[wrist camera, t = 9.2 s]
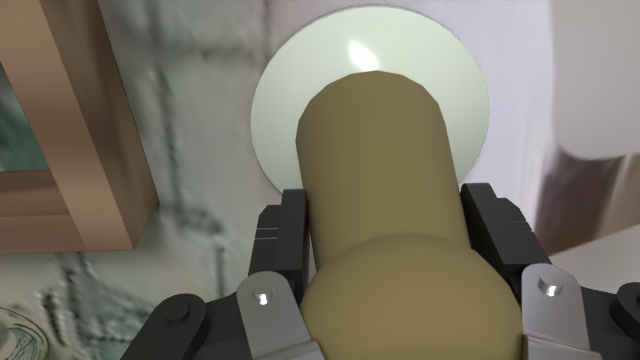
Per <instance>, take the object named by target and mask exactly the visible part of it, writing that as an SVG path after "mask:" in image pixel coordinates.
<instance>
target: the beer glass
mask: <svg viewBox="0 0 640 360" xmlns="http://www.w3.org/2000/svg"><path fill="white" fill-rule="evenodd" d="M47 352H48V342H47V339H46V337H45V336H44V334H43V333H42V331H41V330H40V329H39V328H38V327H37V326H36V325H34V324H33V323H32V322H30V321H29V320H27V319H26V318H24V317H22V316H20V315H18V314H16V313H13V312H11V311H8V310H5V309H1V308H0V360H44V358H45V357H46V355H47Z"/></svg>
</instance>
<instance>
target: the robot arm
mask: <svg viewBox="0 0 640 360" xmlns="http://www.w3.org/2000/svg"><path fill="white" fill-rule="evenodd" d="M460 197H461V202H462V206H463V211H464V216H465V221H466V226H467V230H468V235H469V240H470V245H471V249H472V250H475V251H476V252H477V253H478V254H479V255H480V256H481V257H482V258H483V259H484V260H486V261H487V262H488V263H489V264H490V265H491V266H492V267H493V268H494V269H495V270H496V271H497V273H498V274H499V275H500V276H501V277H502V278H503V279H504V280H505V282H506V283H507V284H508V285H509V286H510V288H511V290H512V293H513V295H514V297H515V299H516V301H517V303H518V305H519V307H520V310H521V313H522V322H523V329H524V334H523V339H522V348H521V358H520V360H640V283H639V282H632V283H626V284H624V285H622V286H621V287H620V288H619V290H618V292H617V294H612V293H608V292H603V291H598V290H593V289H589V288H585V287H582V286H580V285H579V283H578V281H577V280H576V278H575V277H574V276H573V275H571V274H570V273H569V272H567V271H566V270H564V269H562V268H559V267H557V266H554V265H552V263H551V261H550V259H549V258H548V256H547V254H546V253H545V251H544V249H543V248H542V246H541V244H540V243H539V241H538V239H537V238H536V236H535V234H534V232H532V229H531V227H530V226H529V224H528V222H526V219H525V217H524V216H523V214H522V212H521V211H520V209H519V208H518V207H517V206H516V205H514V204H513V203H512V202H511V201H509V200H508V199H507V198H497V197H496V195H495V193H494V191H493V189H492V187H491V186H490V184H489V183H464V184H463V185H462V187H461V192H460ZM309 248H310V233H309V222H308V216H307V191H306V188H303V189H283V195H282V203H281V205H267V207H266V208H265V209H264V210H263V212H262V213H261V214H260V215H259V219H258V224H257V230H256V235H255V240H254V246H253V251H252V257H251V262H250V268H249V273H248V277H247V278H245V279H244V280H243V281H242V282H241V284H240V285H239V287H238V289H237V291H236V292H234V293H233V294H231V295H229V296H227V297H224V298H221V299H218V300H214V301H211V302H207V303H204V301H203V300H202V299H201V298H200V297H199V296H196V295H194V294H187V293H186V294H177V295H174V296H171V297H169V298H167V299H165V300H164V301H162V302H161V303H160V304H159V305H158V306H157V307H156V308H155V309H154V310H153V312H152V313H151V315H150V316H149V318H148V319H147V321H146V322H145V324H144V325H143V326H142V328H141V329H140V331H139V332H138V334H137V335H136V337H135V338H134V340H133V341H132V343H131V344H130V346H129V347H128V348H127V350H126V351H125V353H124V354H123V356H122V357H121V359H120V360H324V357H323V355H322V352H321V350H320V348H319V345H318V343H317V342H316V340H315V339H311V338H310V336H309V333H308V331H307V328H306V326H305V323H304V321H303V318H302V316H301V313H300V311H299V309H300V305H301V302H302V299H303V297H304V294H305V291H306V289H307V286H308V279H309Z"/></svg>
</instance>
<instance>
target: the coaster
mask: <svg viewBox="0 0 640 360" xmlns="http://www.w3.org/2000/svg"><path fill="white" fill-rule="evenodd" d="M375 70H379V71H384V72H390V73H396V74H402V75H404V76H406V77H407V78H409V79H411V80H413V81H415V82H417V83H418V84H420V85H422V86H423V87H424V88H425V89H426V90H427V91H428V92H429V93H430V94H431V96H432V97H433V98H434V99H435V100H436V101H437V102H438V104H439V107H440V110H441V113H442V115H443V118H444V121H445V124H446V129H447V134H448V139H449V144H450V148H451V153H452V158H453V163H454V168H455V173H456V177H457V182H458V183H459V182H460V181H461V180H462V179H463V178H464V177H465V175H466V174H467V173H468V171H469V170H470V169H471V167H472V166H473V164H474V163H475V161H476V159H477V157H478V156H479V153H480V151H481V149H482V146H483V144H484V141H485V137H486V134H487V130H488V124H489V115H490V111H489V96H488V91H487V86H486V83H485V80H484V77H483V74H482V72H481V70H480V68H479V66H478V64H477V62H476V61H475V59H474V57H473V56H472V55H471V53H470V52H469V51H468V50H467V48H466V47H465V46H464V44H463V43H462V42H461V41H460V40H459V39H458V38H457V37H456V36H455V35H454V34H453V33H452V32H451V31H450V30H449V29H447V28H446V27H445V26H443V25H442V24H440V23H439V22H437V21H436V20H434V19H432V18H430V17H428V16H426V15H424V14H422V13H420V12H417V11H413V10H410V9H407V8H404V7H398V6H392V5H381V4H367V5H358V6H351V7H347V8H343V9H339V10H335V11H332V12H330V13H327V14H325V15H322V16H320V17H318V18H316V19H314V20H313V21H311V22H309V23H307V24H306V25H304V26H303V27H301V28H300V29H299V30H297V31H296V32H295V33H293V34H292V35H291V36H290V37H289V38H288V39H287V40H286V41H285V42H284V43H283V44H282V45H281V46H280V47H279V48H278V49H277V51H276V52H275V53H274V55H273V56H272V57H271V59H270V60H269V62H268V64H267V65H266V67H265V69H264V71H263V73H262V75H261V78H260V80H259V83H258V85H257V88H256V92H255V95H254V99H253V104H252V108H251V121H250V125H251V137H252V142H253V146H254V150H255V153H256V156H257V158H258V161H259V163H260V165H261V167H262V169H263V171H264V172H265V174H266V175H267V177H268V178H269V179H270V181H271V182H272V184H273V185H274V186H275V187H276V188H277V189H278V190H279V191H280V192H281V193H282V194H283V189H303V186H302V180H301V174H300V168H299V161H298V155H297V149H296V143H295V139H296V133H297V127H298V121H299V119H300V117H301V115H302V113H303V112H304V110H305V108H306V106H307V105H308V103H309V101H310V100H311V99H312V98H313V97H314V96H315V95H316V94H318V93H319V92H320V91H321V90H322V89H323V88H324V87H325V86H326V85H328V84H330V83H332V82H334V81H336V80H338V79H340V78H343V77H345V76H347V75H349V74H352V73H360V72H367V71H375Z"/></svg>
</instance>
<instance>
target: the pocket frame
mask: <svg viewBox="0 0 640 360" xmlns="http://www.w3.org/2000/svg"><path fill="white" fill-rule="evenodd" d="M0 62H1V64H2V66H3V68H4V70H5V73H6V75H7V77H8V79H9V81H10V83H11V86H12V88H13V90H14V92H15V94H16V96H17V99H18V101H19V103H20V105H21V107H22V109H23V112H24V114H25V116H26V118H27V120H28V122H29V125H30V127H31V129H32V131H33V133H34V135H35V138H36V140H37V142H38V144H39V146H40V148H41V151H42V153H43V155H44V157H45V159H46V162H47V164H48V166H49V168H50V170H33V171H4V172H0V254H9V253H43V252H77V251H111V250H134V248H135V246H136V245H137V243H138V241H139V239H140V237H141V235H142V233H143V231H144V229H145V227H146V225H147V223H148V221H149V219H150V217H151V215H152V213H153V211H154V209H155V207H156V205H157V203H158V201H159V200H158V196H157V193H156V190H155V187H154V184H153V180H152V177H151V174H150V171H149V167H148V164H147V161H146V158H145V155H144V151H143V148H142V145H141V142H140V139H139V135H138V132H137V129H136V126H135V122H134V119H133V116H132V113H131V110H130V106H129V103H128V100H127V97H126V94H125V90H124V87H123V84H122V81H121V77H120V74H119V71H118V68H117V65H116V61H115V58H114V55H113V52H112V49H111V45H110V42H109V39H108V36H107V32H106V29H105V26H104V23H103V20H102V16H101V13H100V10H99V7H98V3H97V0H0Z"/></svg>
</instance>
